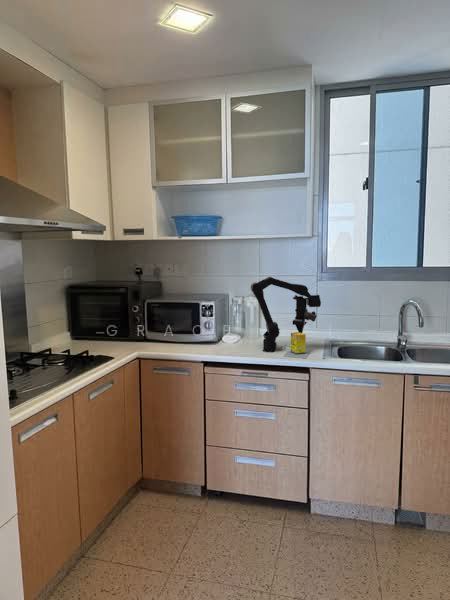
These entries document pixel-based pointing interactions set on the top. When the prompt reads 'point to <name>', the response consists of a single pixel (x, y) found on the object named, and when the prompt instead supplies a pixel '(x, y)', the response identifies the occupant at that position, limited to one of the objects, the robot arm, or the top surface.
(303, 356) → the mat
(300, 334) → the supplement box
